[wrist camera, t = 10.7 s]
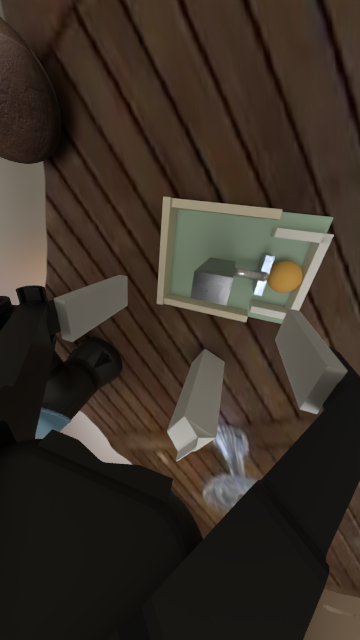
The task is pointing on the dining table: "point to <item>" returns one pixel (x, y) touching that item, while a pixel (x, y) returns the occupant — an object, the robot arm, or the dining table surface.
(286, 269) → the ball
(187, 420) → the milk
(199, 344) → the dining table surface
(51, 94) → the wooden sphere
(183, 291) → the pitch
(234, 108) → the dining table surface
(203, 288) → the kicker rod
